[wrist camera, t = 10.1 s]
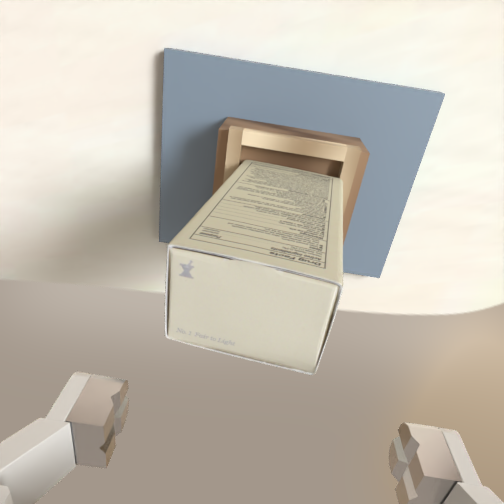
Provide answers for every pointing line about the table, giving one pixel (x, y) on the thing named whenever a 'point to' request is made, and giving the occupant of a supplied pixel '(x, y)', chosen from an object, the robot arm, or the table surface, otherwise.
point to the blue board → (299, 116)
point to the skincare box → (260, 268)
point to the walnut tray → (292, 154)
